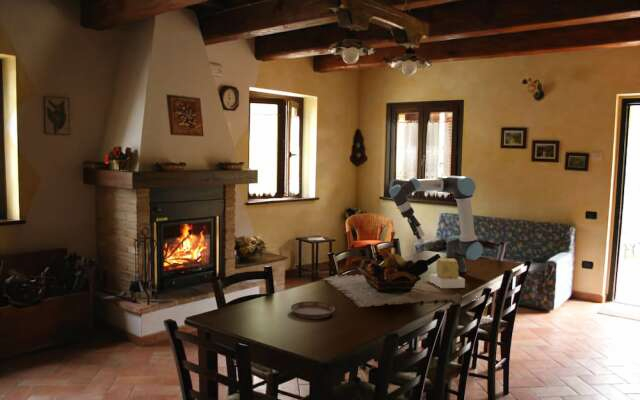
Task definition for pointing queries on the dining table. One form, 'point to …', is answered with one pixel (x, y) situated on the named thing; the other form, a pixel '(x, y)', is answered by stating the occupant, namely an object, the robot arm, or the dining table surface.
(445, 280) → the stand
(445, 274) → the cheese
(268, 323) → the dining table surface
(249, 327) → the dining table surface
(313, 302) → the plant saucer
